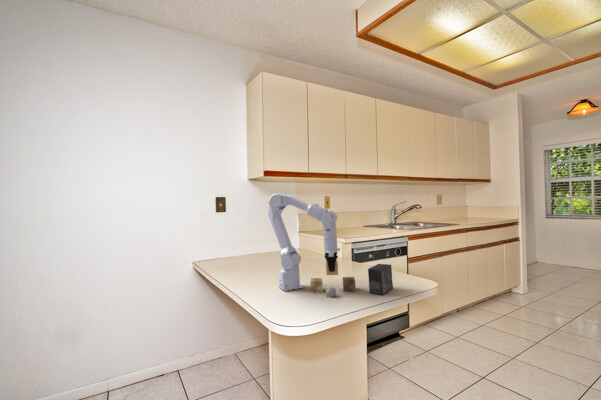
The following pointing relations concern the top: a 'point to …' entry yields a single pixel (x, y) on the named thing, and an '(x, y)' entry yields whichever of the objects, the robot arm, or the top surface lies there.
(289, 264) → the robot arm
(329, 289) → the grey tin
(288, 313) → the top surface
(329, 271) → the terracotta block
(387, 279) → the small box
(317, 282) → the oak block
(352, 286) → the walnut block
